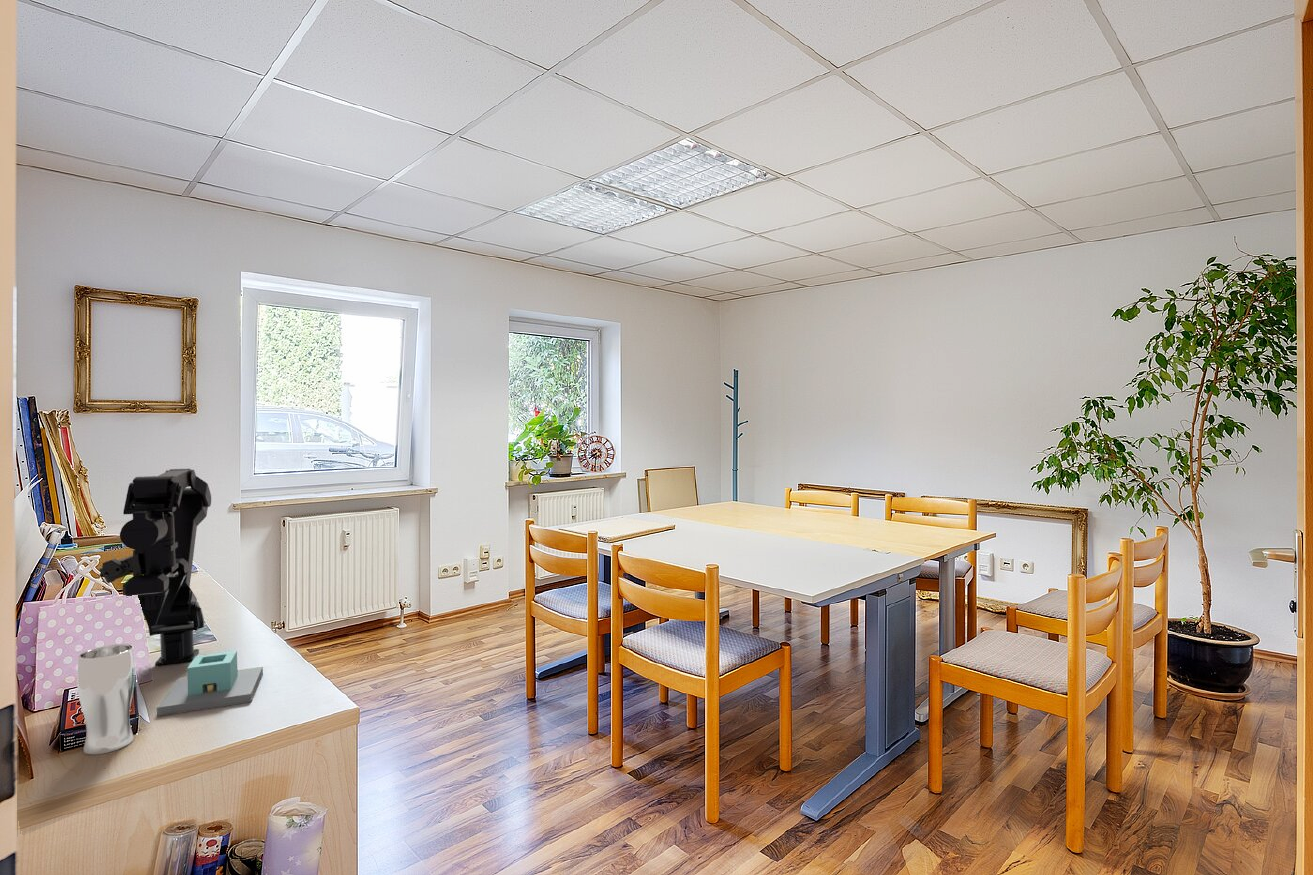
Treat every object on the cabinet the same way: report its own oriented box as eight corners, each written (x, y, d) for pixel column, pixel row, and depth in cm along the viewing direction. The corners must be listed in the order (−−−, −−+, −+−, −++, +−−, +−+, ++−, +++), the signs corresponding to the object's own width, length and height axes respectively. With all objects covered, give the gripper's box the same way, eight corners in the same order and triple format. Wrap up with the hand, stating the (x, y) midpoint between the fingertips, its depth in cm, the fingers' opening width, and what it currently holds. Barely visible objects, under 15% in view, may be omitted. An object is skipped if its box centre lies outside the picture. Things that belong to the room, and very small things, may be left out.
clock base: (178, 685, 127) (177, 657, 127) (262, 674, 132) (262, 646, 132) (157, 716, 114) (155, 684, 114) (251, 701, 120) (250, 671, 119)
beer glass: (90, 761, 99) (86, 662, 99) (72, 748, 103) (68, 653, 103) (144, 741, 105) (141, 648, 105) (126, 730, 109) (123, 640, 108)
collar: (237, 676, 128) (236, 650, 127) (231, 689, 122) (230, 662, 121) (196, 681, 125) (196, 655, 125) (188, 695, 119) (187, 668, 119)
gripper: (122, 535, 134) (124, 611, 135) (85, 552, 117) (88, 639, 118) (187, 531, 139) (190, 604, 139) (161, 547, 122) (164, 631, 122)
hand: (159, 619), depth 129 cm, fingers open, 9 cm apart
